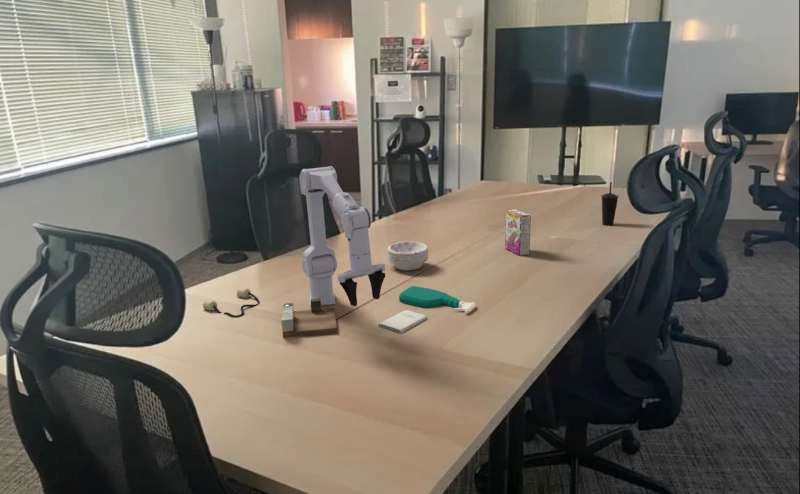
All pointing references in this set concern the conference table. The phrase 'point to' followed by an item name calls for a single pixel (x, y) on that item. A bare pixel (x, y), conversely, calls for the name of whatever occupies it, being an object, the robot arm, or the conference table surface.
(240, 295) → the cable
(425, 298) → the spray bottle
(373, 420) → the conference table surface
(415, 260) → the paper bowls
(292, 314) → the folding leg
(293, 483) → the conference table surface
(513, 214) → the candy bar box
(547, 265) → the conference table surface
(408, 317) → the external hard drive
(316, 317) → the stool seat
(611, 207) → the drinking cup
